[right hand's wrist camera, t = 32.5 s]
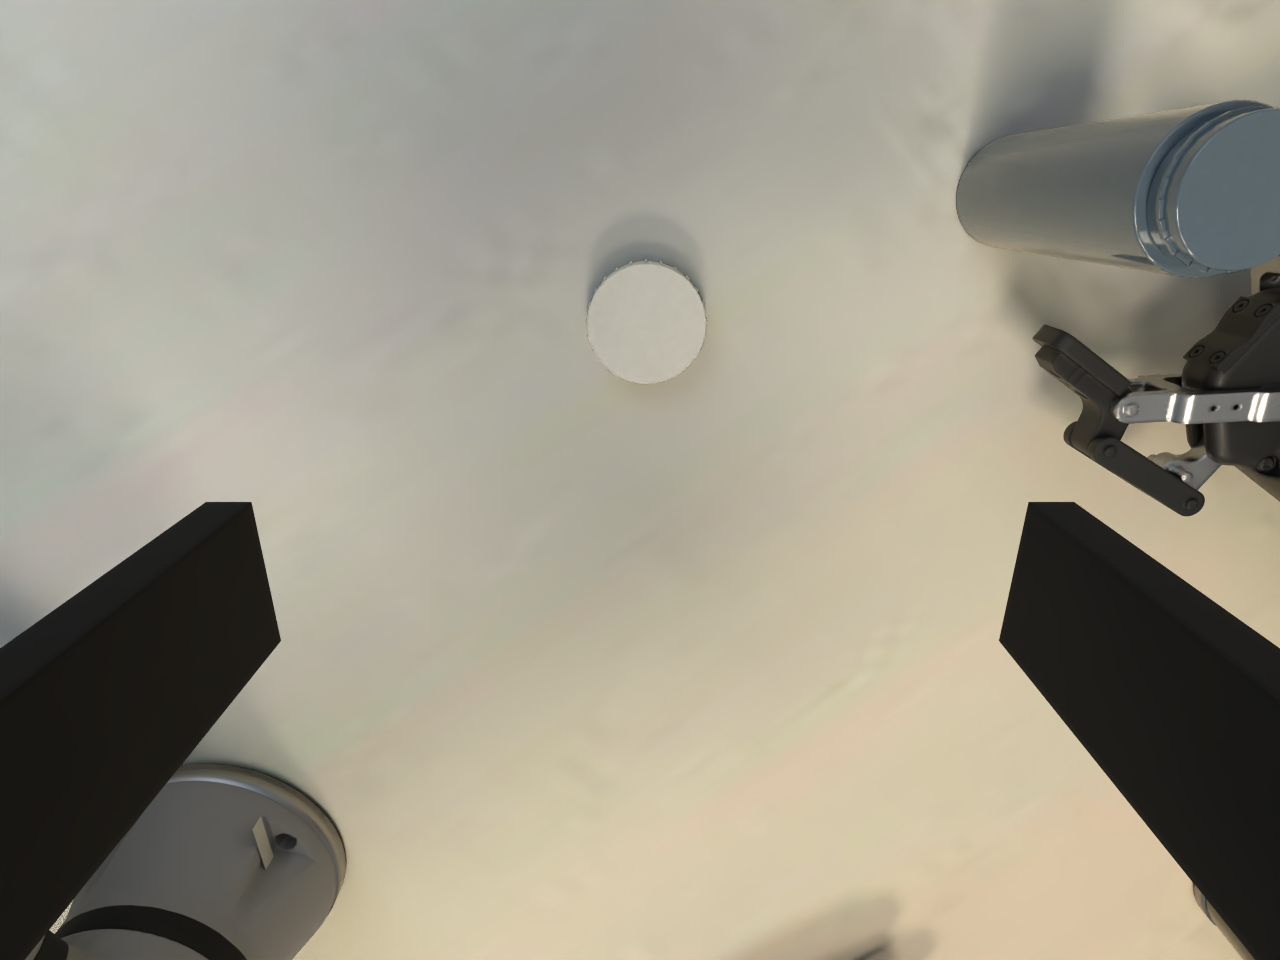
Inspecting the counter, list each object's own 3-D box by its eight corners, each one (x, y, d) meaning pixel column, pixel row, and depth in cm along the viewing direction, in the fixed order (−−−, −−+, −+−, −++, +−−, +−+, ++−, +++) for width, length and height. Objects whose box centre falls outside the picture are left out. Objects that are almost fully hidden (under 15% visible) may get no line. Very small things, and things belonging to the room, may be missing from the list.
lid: (716, 271, 35) (719, 274, 34) (691, 387, 38) (694, 395, 36) (597, 248, 35) (595, 251, 34) (579, 367, 37) (577, 374, 36)
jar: (1030, 261, 35) (1277, 304, 22) (937, 229, 35) (1129, 252, 21) (1082, 154, 33) (1386, 128, 20) (985, 118, 33) (1228, 67, 19)
